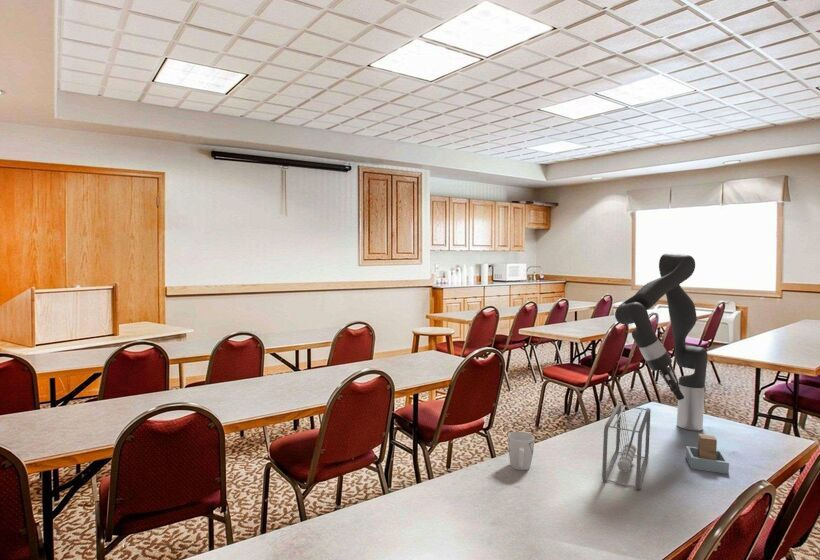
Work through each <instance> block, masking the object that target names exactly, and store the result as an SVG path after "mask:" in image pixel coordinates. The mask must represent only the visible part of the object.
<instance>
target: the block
mask: <svg viewBox="0 0 820 560" xmlns="http://www.w3.org/2000/svg"><path fill="white" fill-rule="evenodd" d="M697 437H698V438H697V448H698V455H697V458H704V459H711V460H716V450H717V444H718V440H717V438H716V437H715V434H713V435H712V434H706V433H705V434H704V433H698V436H697Z"/></svg>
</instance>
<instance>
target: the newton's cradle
mask: <svg viewBox="0 0 820 560" xmlns="http://www.w3.org/2000/svg"><path fill="white" fill-rule="evenodd" d="M625 408H629V409H635V410H636V409H637V410H640V412H638V411H636V414H638V415H636V414H634V416H636V417H637V418H636V419H635V418H634V417H631V419H633V420H636V421H635V422H634V425H632V424H629V426H632V427H633V429H628V424H627V420H626V418H628V419H629V417H628V416H627V417H626V413H625V411H626V412H628V410H626V409H625ZM643 411H645V413H644V416H643V418H642V421H641V423H640V427H639V428H638V429H639V430H636V429H637V426H638V423H639V420H640V418H641V416H642V413H643ZM630 412H633V413H634V411H633V410H630ZM623 415H624V416H623ZM628 415H630V416H632V414H631V413H630V414H629V413H628ZM615 417H617V418H616V420H615V422H614V424H613V425H611V424H612V422H613V420H614V419H615ZM624 417H625V418H624ZM622 418H624V419H622ZM622 421H623V422H622ZM628 422H629V423H632V421H631V420H628ZM621 425H623V426H621ZM625 427H626V428H625ZM609 428H611V429H616V437H615V438H616V440H615V451H614V452H613V453H614V454H613V455H612V457H611V459H610V462H609V464H608V463H607V462H608V461H607V459H608V436H609ZM644 430H645V448H644V449H645V450H644V456H642V450H643V449H642V446H643V443H642V441H643V434H644ZM622 431H624V432H622ZM621 432H622V433H621ZM629 432H632V433H631V437H630V438H629V436H627V435H629ZM626 433H627V434H626ZM635 433H637V447H636V446H635V444H634V443H633V442H634V441H633V440H634V436H635ZM650 435H651V408H650V407H647V408H642V407H638V406H637V407H636V406H630V405H622V404H621V403H617V404H616V406H615V407H614V409H613V410H612V412H611V415H610V416H609V418H608V420H607V421H606V423H605V425H604V429H603V442H602V443H603V444H602V469H601V471H602V472H601V474H602V475H601V479H602V482H603V483H606V482H611V483H614V484H618V485H624V486H628V487H633V488H635V489H636V490H638V491H639V490H641V489H642V488H641V486H642V483H643V480H644V476H645V472H646V468H647V464H648V459H649V454H650V452H649V451H650ZM625 436H627V437H625ZM623 437H625V438H623ZM621 438H623V439H621ZM628 441H629V442H628ZM624 443H625V444H624ZM622 444H624V445H622ZM620 446H622V447H620ZM622 448H623V449H622ZM619 454H621V455H620V457H619V460H618V462H617V464H616V465H617V468H618V470H619V471H621V472H623V473H628V472H629V471H631V467H632V465H633V461H634V457H636V467H635V469H636V472H635V485H633V484H628V483H624V482H619V481H615V480H610V479H608V478H609V476H610V474H611V471H612V469H613V467H614V464H615V461H616V460H617V457H618V455H619ZM642 459H643V461H642ZM607 466H608V467H607Z"/></svg>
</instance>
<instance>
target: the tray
mask: <svg viewBox="0 0 820 560" xmlns="http://www.w3.org/2000/svg"><path fill="white" fill-rule="evenodd" d="M697 455H698V446H697V447H696V446H688V445H686V446H685V458H686V461H687V462H688V464H689V467H690V469H693V470H699V471H706V472H712V473H719V474H720V473H721V474H725V475H729V472H730V462H729V461H728V459H727V458H726V456H725V453H724V452H723V451H722V450H717V449H716V460H711V459H704V458H697Z"/></svg>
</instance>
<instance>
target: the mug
mask: <svg viewBox="0 0 820 560" xmlns="http://www.w3.org/2000/svg"><path fill="white" fill-rule="evenodd" d="M507 445H508V446H507V449H508V457H509V464H510V466H511V468H512V469H514V470H518V471H526V470H527V471H528V470H529V469H530V468H531V466H532V461H533V457H534V456H533V455H534V450H535V436H534V435H533V434H531V433H530V432H525V431H511V432H509V433H508V435H507Z"/></svg>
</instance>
